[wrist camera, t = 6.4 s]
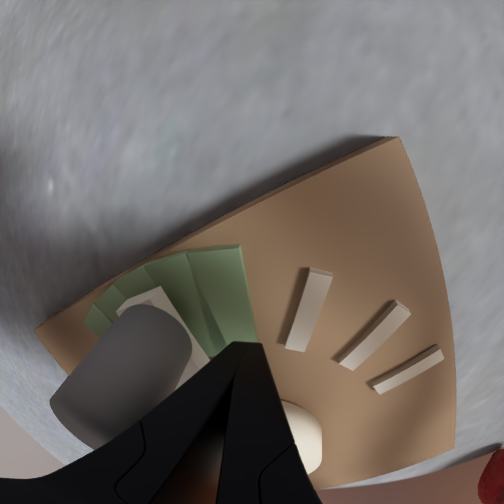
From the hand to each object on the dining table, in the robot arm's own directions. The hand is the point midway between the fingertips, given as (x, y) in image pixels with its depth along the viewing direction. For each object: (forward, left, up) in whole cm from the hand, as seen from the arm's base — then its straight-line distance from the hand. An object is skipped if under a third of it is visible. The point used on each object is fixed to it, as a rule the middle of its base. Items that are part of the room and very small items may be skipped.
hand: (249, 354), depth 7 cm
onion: (+11, -26, -4) cm, 29 cm away
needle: (-3, -4, -2) cm, 5 cm away
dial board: (-4, -6, -4) cm, 8 cm away
